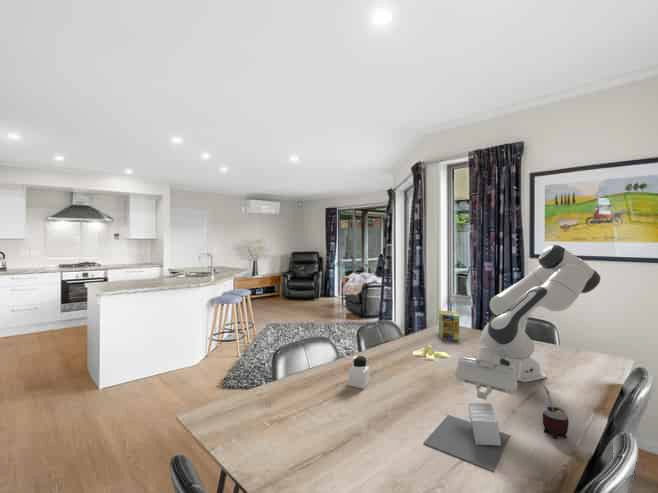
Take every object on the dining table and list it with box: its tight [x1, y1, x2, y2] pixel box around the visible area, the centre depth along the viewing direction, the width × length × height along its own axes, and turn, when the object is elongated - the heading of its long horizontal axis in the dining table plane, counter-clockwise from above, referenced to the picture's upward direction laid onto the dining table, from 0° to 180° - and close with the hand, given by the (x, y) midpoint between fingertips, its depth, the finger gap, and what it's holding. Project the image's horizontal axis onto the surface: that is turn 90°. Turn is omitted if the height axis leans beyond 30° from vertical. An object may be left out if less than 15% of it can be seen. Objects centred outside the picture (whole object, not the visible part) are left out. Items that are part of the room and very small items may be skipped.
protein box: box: [438, 310, 460, 341], centre depth 224 cm, size 10×15×16 cm
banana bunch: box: [411, 344, 451, 362], centre depth 188 cm, size 22×19×6 cm
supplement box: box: [468, 402, 501, 445], centre depth 109 cm, size 7×7×13 cm
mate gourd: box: [539, 381, 569, 440], centre depth 111 cm, size 8×8×15 cm
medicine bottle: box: [348, 355, 370, 389], centre depth 147 cm, size 7×7×12 cm
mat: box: [422, 414, 511, 473], centre depth 107 cm, size 22×20×1 cm
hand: (481, 398), depth 117 cm, fingers closed
